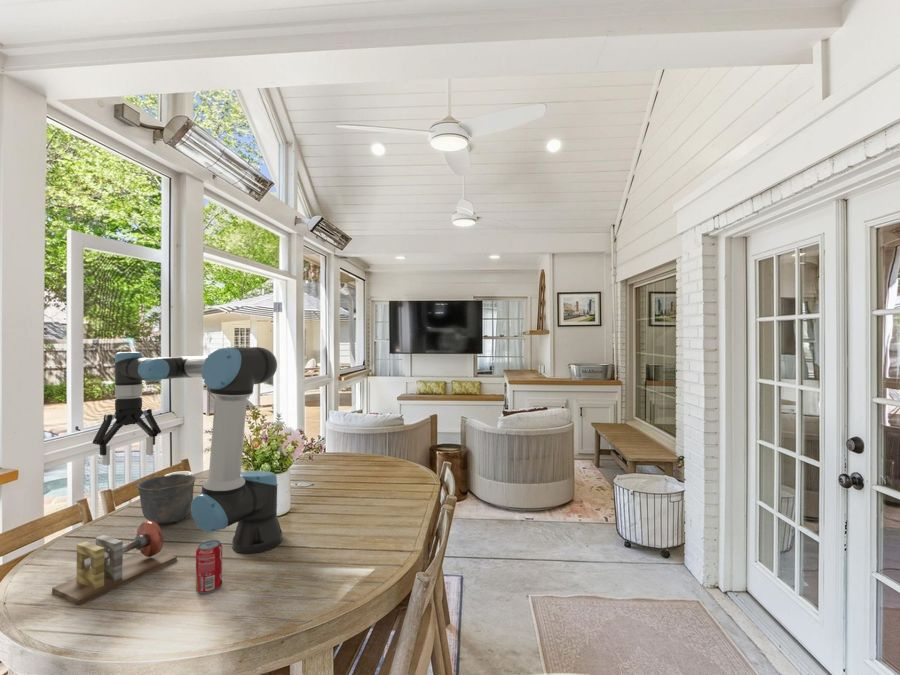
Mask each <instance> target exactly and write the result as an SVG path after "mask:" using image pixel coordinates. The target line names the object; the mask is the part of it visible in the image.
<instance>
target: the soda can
mask: <svg viewBox="0 0 900 675" xmlns="http://www.w3.org/2000/svg"><path fill="white" fill-rule="evenodd" d="M222 584H223V544H222V543H221V540H218V539H211V540H205V541H202V542H201V543H199V544H198V545H197V549H196V550H195V591H196V592H198V593H199V594H203V595H204V594H205V595H206V594H211V593H213V592H216V591H217V590H218V589H219V588H220V587H221V586H222Z"/></svg>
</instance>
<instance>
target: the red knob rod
mask: <svg viewBox="0 0 900 675" xmlns="http://www.w3.org/2000/svg"><path fill="white" fill-rule="evenodd" d="M163 547H164V534H163V531H162V528H161V526H160V525H159V523H156V522H155V521H149V520H148V521H145V522H142V523H141V524H140V525H139V526H138V528H137V531H136V537H134V539H133V540H132V541H130V542H127V543H123V554H125V553H128V552H130V551H132V550H135V549H136V550H138V551H139V552H141V553H142V554H143V555H144V556H146V557H151V556H153V555H156V554H158V553H159V552H160V551H161V552H162V549H163ZM107 559H109V560H110V550H109V549H108V551H106V552H104V561H105V560H107ZM84 566H85V567H86V568H87V567H91V557H90V558H87V559H85V560H84Z"/></svg>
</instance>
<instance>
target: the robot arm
mask: <svg viewBox="0 0 900 675" xmlns="http://www.w3.org/2000/svg"><path fill="white" fill-rule="evenodd" d="M114 360H115V362H114V384H115V385H114V397H115V399H114V410H115V413H113V414H111V413H106V414H104V415H103V421H102V423H101V425H100V427H99V429H98V431H97V432H96V435H95V436H94V439H93V440H92V444H93V445H97V446H99V455H100V456H102V465H104V466H110V465H111V462H110V461H111V444H109V443H110V441H111V440H112V439H113V438H114V437H115V435H116V434H117V432H118V431H119V430H120V428H122V427H123V426H129V425H138V427H140V429H141V430H143V431H144V432H145V433H146V434H147V435H148V436H145V447H146V448H145V451H146V452H145V455H146V456H153V455H154V446H155V445H156V437H157V436H158V434H161V433H162V430H161V428H160V427H159V424H158V422H157V421H156V419H155V418H154V416H153V411H152V409H151V408H144V409H142V407H143V397H142V396H143V381H146V382H147V381H148V382H157V381H158V382H159V381H161V380H169V379H170V380H171V379H185V378H186V379H187V378H188V379H189V378H202V379H203V384H204V385H205V386H206V387H208V388H209V394H210V395H211V396H212V397H213V398H214V405H213V409H214V410H213V419H212V420H213V421H212V431H211V432H212V434H211V442H210V443H211V444H210V456H209V468H208V469H209V470H208V477H207V478H206V479H205V480H203V482H202V483H201V493H200V494H199V493H198V494H197V495H196V496H195V497H193V500H192V503H191V510H190V514H191V517H192V519H193V521H194V523H195V524H196V526H197V527H198V528H199V529H200V530H202V531H204V532H206V533H215V532H218V531H220V530H225V529H227V527H230V526H232V525H234V524H236V523H237V525H236V528H235V532H234V536H233V537H232V541H231V542H232V544H231V545H232V546H231V547H232V550H233V551H234V552H236V553H239V554H256V553H261V552H266V551H268V550H271V549H274V548H276V547H278V546H279V545H280V544H281V543H282V541H283V531H282V529H281V525H280V522H279V520H278V514H277V513H278V511H277V510H278V479H277V475H276V474H275V473H274V472H273V471H268V470H250V471H244V472H242V462H243V461H242V460H243V452H244V451H243V450H244V448H243V447H244V440H245V439H244V437H245V426H246V425H245V424H246V412H247V401H248V398H249V397H251V396H252V395H253V394H254V385H259V384H263V383H266V382H268V381H270V380H271V379H272V378H273V377H274V375H275V374H276V372H277V369H278V361H277V358H276V356H275V354H273V352H272V351H270V350H269V349H266V348H265V347H260V346H257V347H256V346H253V347H251V346H250V347H249V346H248V347H242V346H241V347H240V346H239V347H236V346H234V347H232V346H230V347H229V346H226V347H223V348H217V349H214V350H212V351H211V352H210V353H209V354H208V355H190V356H173V357H172V356H169V357H168V356H167V357H143V354H142V352H140V351H122V352H121V351H119V352H117V353H115V359H114ZM142 416H144V418H145V419H146V421H147V423H148V424H147V423H146V422H145V421H144V419H143V418H142ZM114 420H115V421H114ZM112 421H114V422H113V423H112ZM111 424H112V425H111ZM148 425H149V426H148ZM110 426H111V427H110Z"/></svg>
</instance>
